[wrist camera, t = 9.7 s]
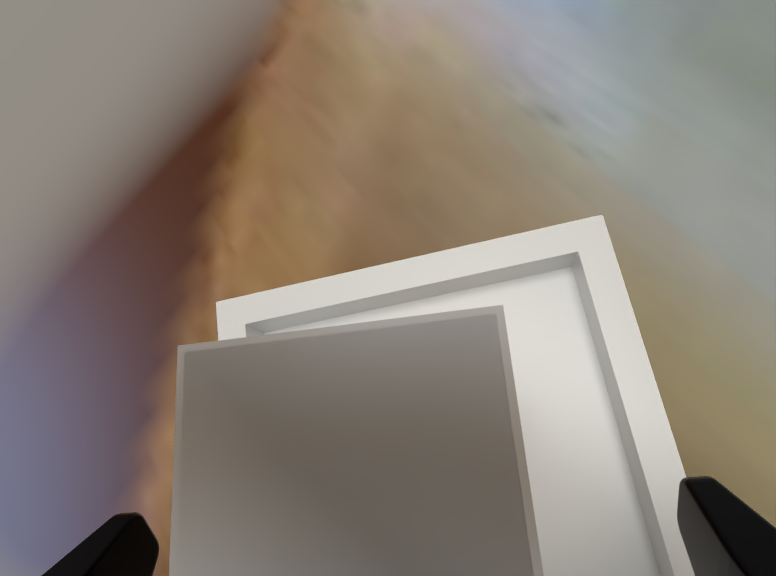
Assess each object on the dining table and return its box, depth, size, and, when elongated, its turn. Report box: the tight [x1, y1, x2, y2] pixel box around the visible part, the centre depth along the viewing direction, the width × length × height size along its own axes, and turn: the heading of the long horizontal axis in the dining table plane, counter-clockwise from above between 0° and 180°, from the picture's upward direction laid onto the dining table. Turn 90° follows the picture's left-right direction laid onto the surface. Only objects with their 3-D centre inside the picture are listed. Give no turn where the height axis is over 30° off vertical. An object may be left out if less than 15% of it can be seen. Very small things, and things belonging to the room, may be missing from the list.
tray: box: [216, 215, 695, 576], centre depth 16 cm, size 13×13×2 cm
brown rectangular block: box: [169, 305, 544, 576], centre depth 11 cm, size 4×4×11 cm
